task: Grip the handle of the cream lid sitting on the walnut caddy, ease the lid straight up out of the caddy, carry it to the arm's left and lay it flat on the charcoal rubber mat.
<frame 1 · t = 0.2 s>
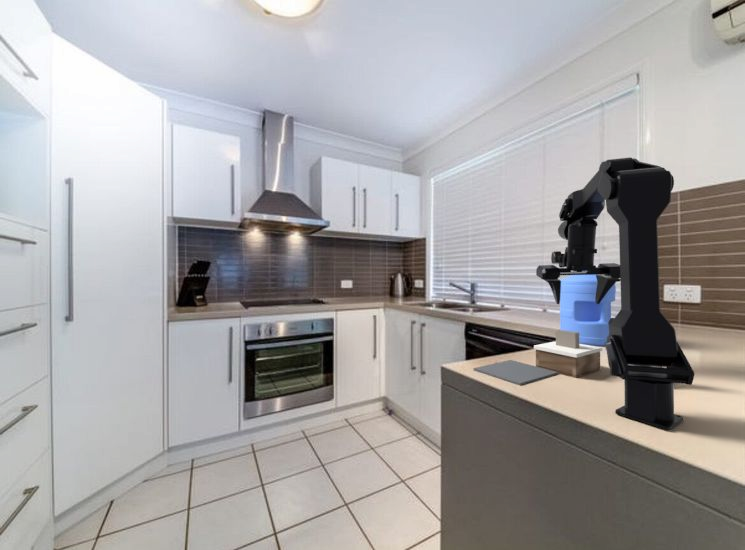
hand: (577, 303, 79), 15 cm above the counter, tool pointing down, fingers open, 9 cm apart
mat: (514, 371, 71), on the counter
water jug: (586, 342, 103), on the counter
salt shaker: (643, 382, 64), on the counter
caddy: (567, 368, 73), on the counter
lid: (567, 354, 73), point 3 cm above the counter, touching caddy
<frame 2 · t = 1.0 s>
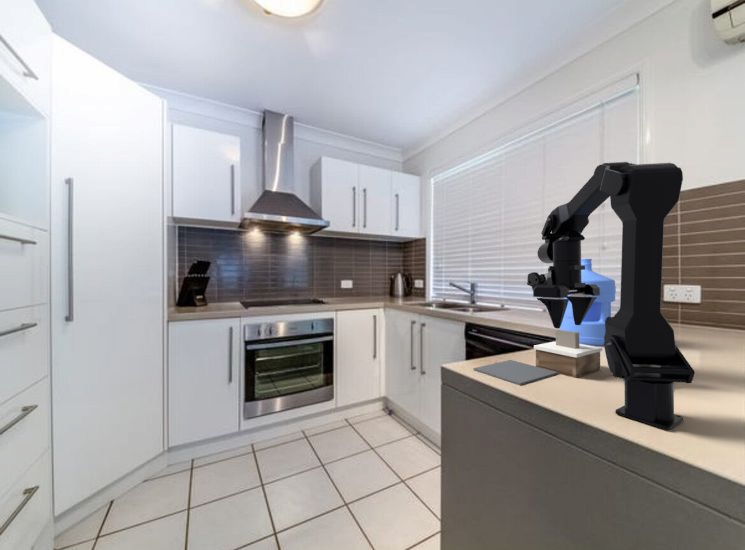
hand: (567, 326, 73), 10 cm above the counter, tool pointing down, fingers open, 9 cm apart
nothing on the counter moved.
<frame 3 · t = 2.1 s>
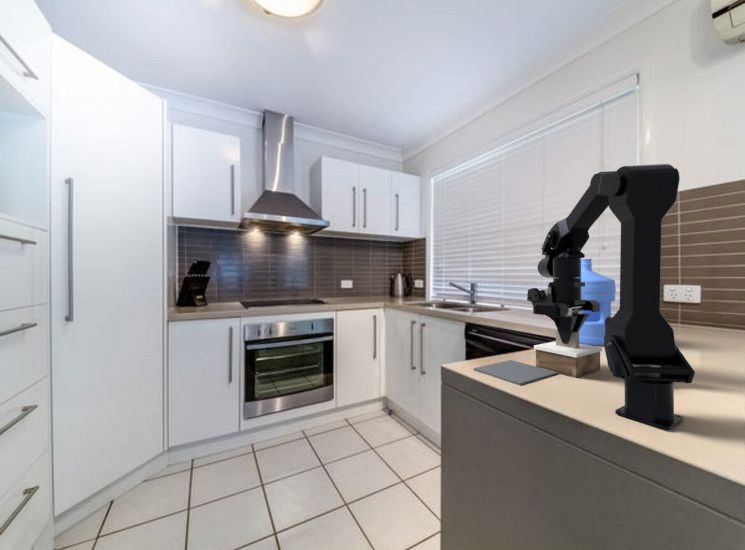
hand: (567, 343, 73), 6 cm above the counter, tool pointing down, fingers closed on lid
lid: (567, 354, 73), point 3 cm above the counter, touching caddy, gripper
everything else where it was.
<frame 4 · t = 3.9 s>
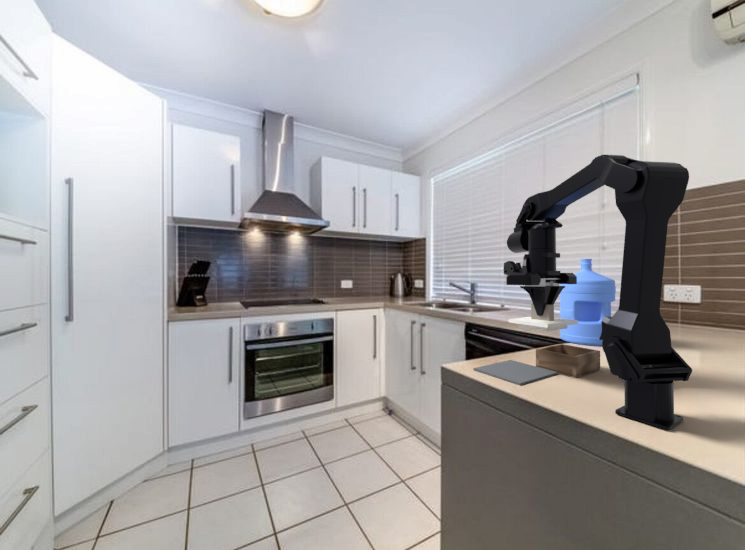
hand: (542, 315, 72), 13 cm above the counter, tool pointing down, fingers closed on lid
lid: (542, 327, 72), point 10 cm above the counter, touching gripper
everything else where it was.
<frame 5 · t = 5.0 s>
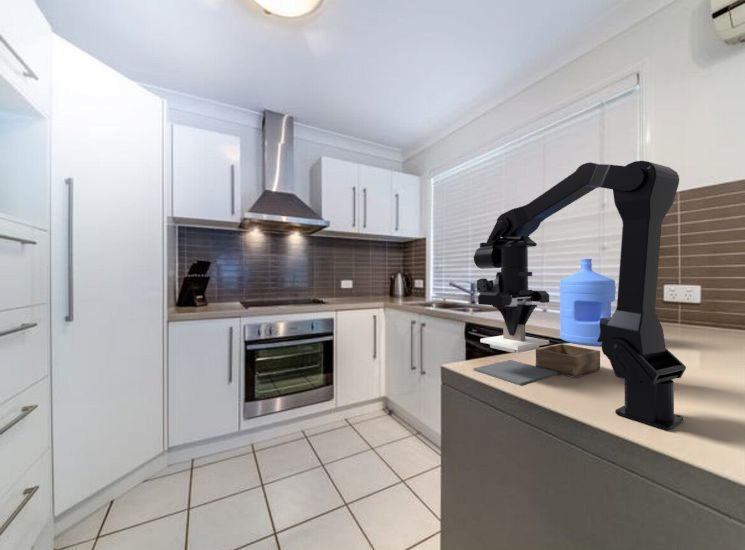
hand: (514, 334, 71), 9 cm above the counter, tool pointing down, fingers closed on lid
lid: (514, 347, 71), point 6 cm above the counter, touching gripper
everything else where it was.
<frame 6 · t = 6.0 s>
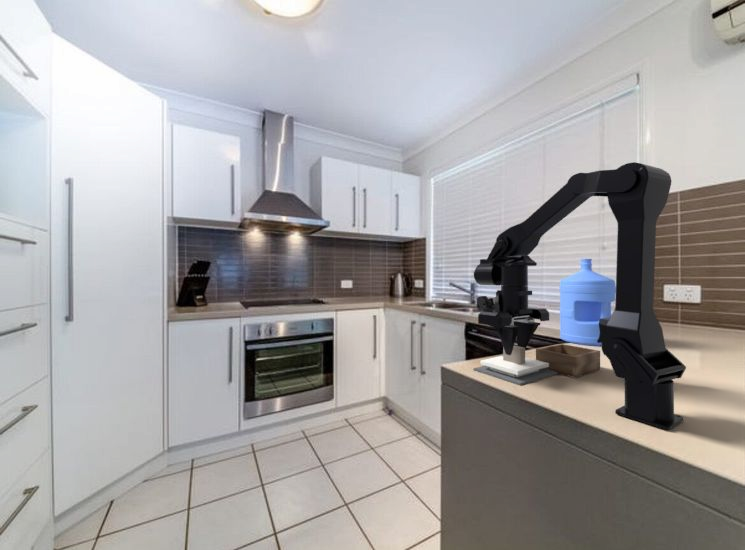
hand: (514, 353, 71), 4 cm above the counter, tool pointing down, fingers open, 4 cm apart
lid: (514, 369, 71), resting on mat
everything else where it was.
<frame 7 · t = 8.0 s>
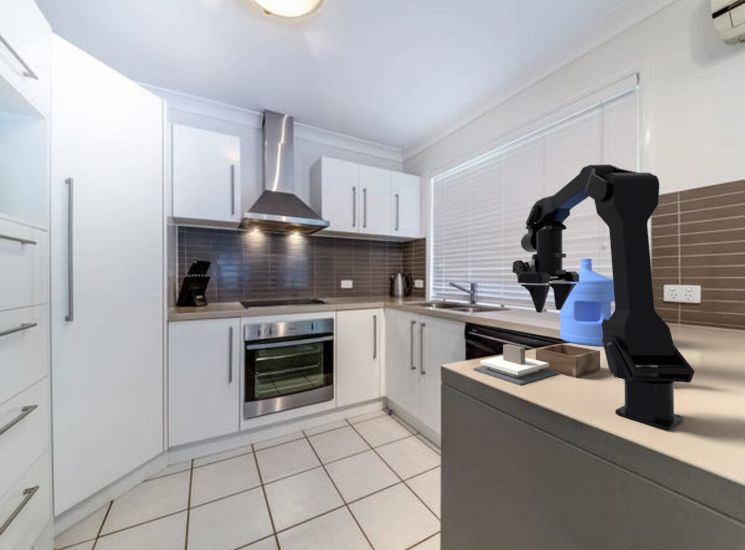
hand: (549, 311, 78), 13 cm above the counter, tool pointing down, fingers open, 9 cm apart
nothing on the counter moved.
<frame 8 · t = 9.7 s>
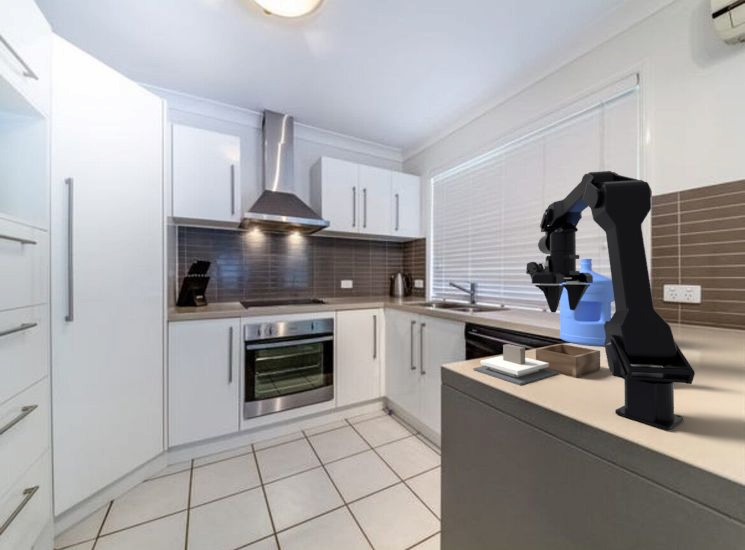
hand: (563, 311, 80), 13 cm above the counter, tool pointing down, fingers open, 9 cm apart
nothing on the counter moved.
at the end: lid inside the target area on the mat (0.2 cm from its centre), point 0.4 cm above the mat's base; lid tilted 0°; the gripper is holding nothing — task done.
